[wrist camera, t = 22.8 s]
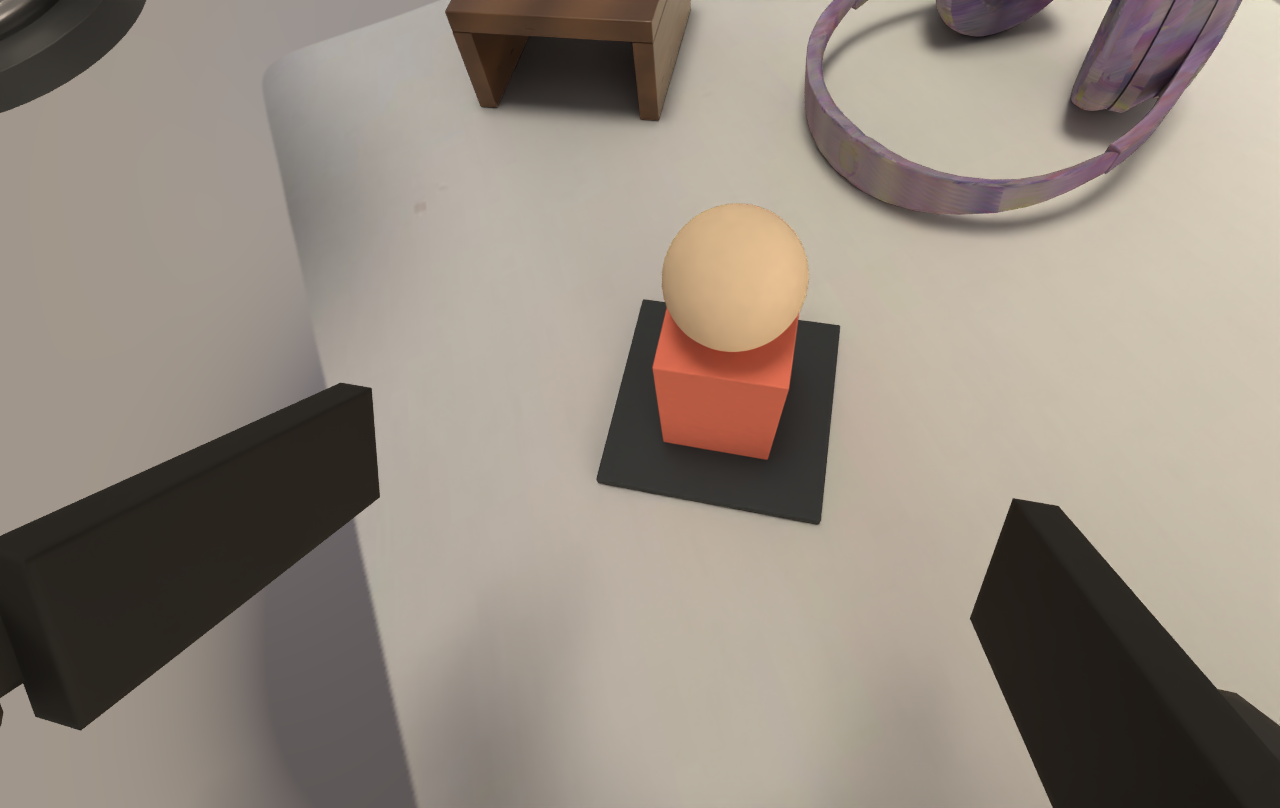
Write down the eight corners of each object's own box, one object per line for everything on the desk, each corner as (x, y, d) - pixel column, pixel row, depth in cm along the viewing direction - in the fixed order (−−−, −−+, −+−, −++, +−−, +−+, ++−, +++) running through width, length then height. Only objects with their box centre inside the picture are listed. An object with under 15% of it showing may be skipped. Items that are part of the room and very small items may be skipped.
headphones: (978, -50, 41) (744, 125, 40) (1023, -204, 33) (735, 10, 32) (1239, 90, 33) (958, 307, 33) (1373, -66, 26) (1010, 213, 25)
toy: (663, 442, 28) (640, 291, 17) (684, 346, 30) (675, 158, 19) (767, 460, 27) (811, 314, 16) (781, 360, 29) (829, 172, 18)
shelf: (480, 106, 40) (444, 11, 34) (528, 1, 44) (503, -98, 38) (658, 121, 37) (651, 22, 32) (690, 9, 42) (689, -95, 36)
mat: (597, 483, 28) (596, 479, 27) (643, 304, 32) (642, 298, 31) (818, 524, 26) (820, 522, 26) (838, 330, 30) (840, 325, 30)
